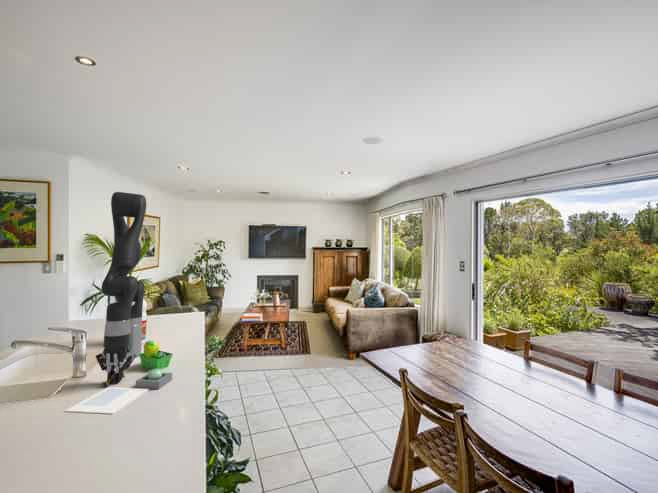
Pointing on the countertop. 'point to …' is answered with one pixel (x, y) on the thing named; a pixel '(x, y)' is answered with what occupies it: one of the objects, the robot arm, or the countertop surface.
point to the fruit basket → (154, 356)
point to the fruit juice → (143, 320)
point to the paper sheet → (108, 400)
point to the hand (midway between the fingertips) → (114, 382)
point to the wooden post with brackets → (105, 384)
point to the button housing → (153, 381)
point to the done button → (154, 374)
